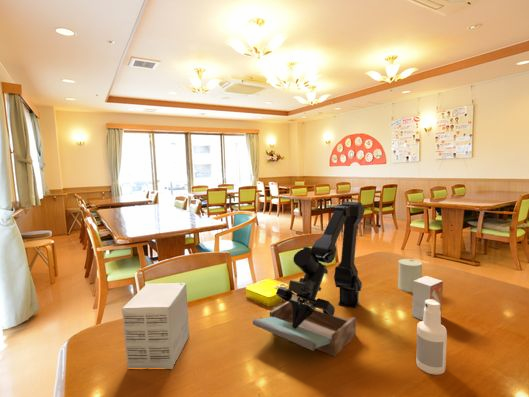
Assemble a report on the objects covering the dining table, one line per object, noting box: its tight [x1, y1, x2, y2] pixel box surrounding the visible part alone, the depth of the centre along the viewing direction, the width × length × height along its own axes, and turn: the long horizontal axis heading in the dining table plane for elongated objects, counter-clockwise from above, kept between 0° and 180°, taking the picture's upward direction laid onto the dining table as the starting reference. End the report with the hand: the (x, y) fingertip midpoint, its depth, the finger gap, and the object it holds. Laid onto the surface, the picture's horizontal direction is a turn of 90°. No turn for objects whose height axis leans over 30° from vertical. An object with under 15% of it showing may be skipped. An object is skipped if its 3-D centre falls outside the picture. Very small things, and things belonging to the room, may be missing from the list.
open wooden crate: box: [269, 301, 357, 357], centre depth 101 cm, size 14×24×6 cm, turn 49°
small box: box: [411, 275, 444, 321], centre depth 108 cm, size 8×6×13 cm
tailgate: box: [252, 316, 330, 351], centre depth 92 cm, size 2×21×10 cm
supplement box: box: [121, 282, 190, 370], centre depth 92 cm, size 17×13×18 cm
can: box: [397, 258, 423, 294], centre depth 132 cm, size 9×9×12 cm
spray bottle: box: [415, 299, 448, 376], centre depth 82 cm, size 7×7×18 cm
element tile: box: [245, 277, 294, 307], centre depth 130 cm, size 15×15×5 cm
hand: (294, 327), depth 93 cm, fingers closed, pressing on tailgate
